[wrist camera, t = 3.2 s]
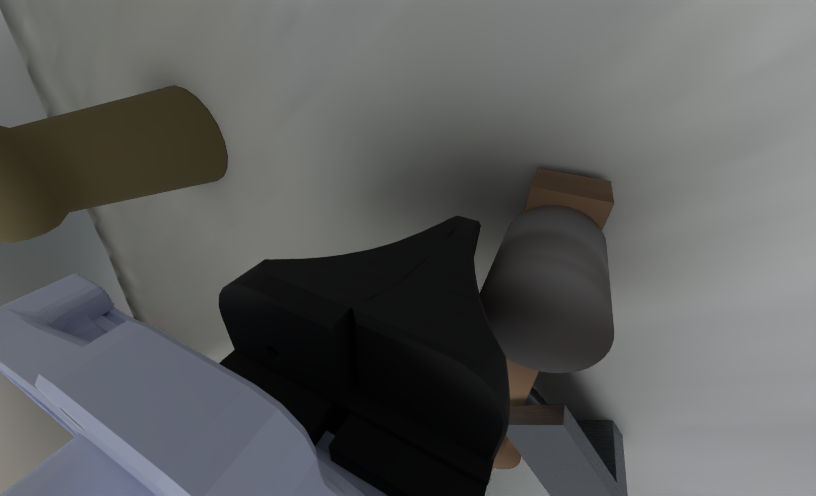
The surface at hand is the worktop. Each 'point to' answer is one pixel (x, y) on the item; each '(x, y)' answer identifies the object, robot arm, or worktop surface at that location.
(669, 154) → the worktop surface
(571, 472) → the keeper
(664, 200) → the worktop surface
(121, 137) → the cork
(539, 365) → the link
